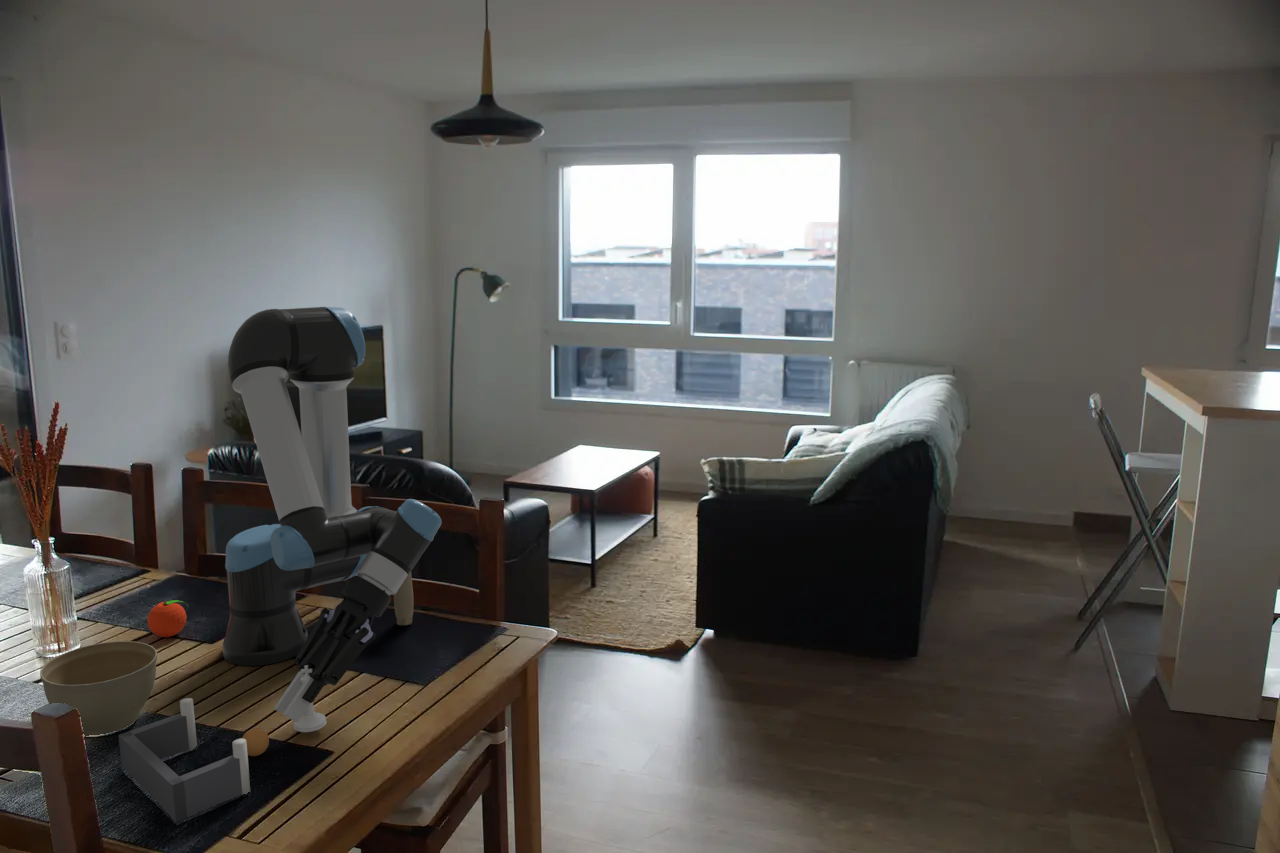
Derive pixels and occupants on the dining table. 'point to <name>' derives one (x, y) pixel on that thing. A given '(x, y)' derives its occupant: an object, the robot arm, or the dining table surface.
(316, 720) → the chess piece
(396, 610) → the handle
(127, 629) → the dining table surface
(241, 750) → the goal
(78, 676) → the planter bowl
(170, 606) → the clementine
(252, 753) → the ball
